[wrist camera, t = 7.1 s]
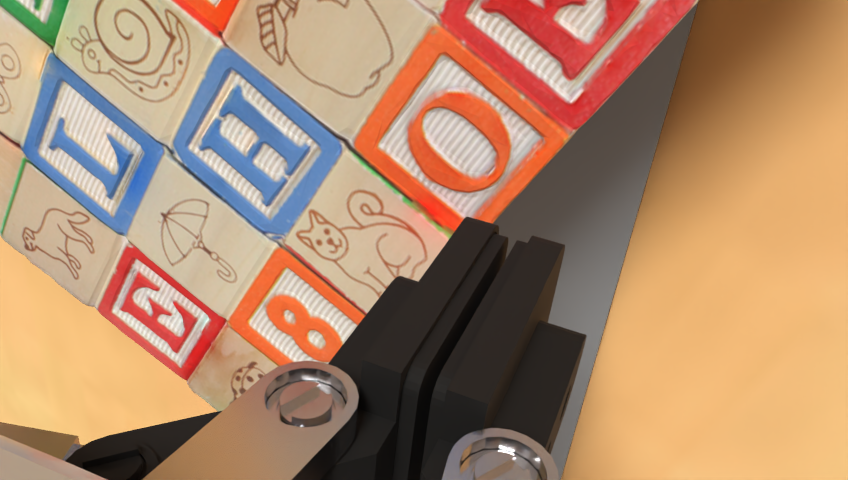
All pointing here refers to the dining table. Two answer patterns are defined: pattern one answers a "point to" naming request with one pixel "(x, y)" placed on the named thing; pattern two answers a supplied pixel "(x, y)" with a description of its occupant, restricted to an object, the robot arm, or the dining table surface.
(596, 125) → the mat
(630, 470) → the dining table surface
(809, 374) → the dining table surface
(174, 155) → the stack of blocks
